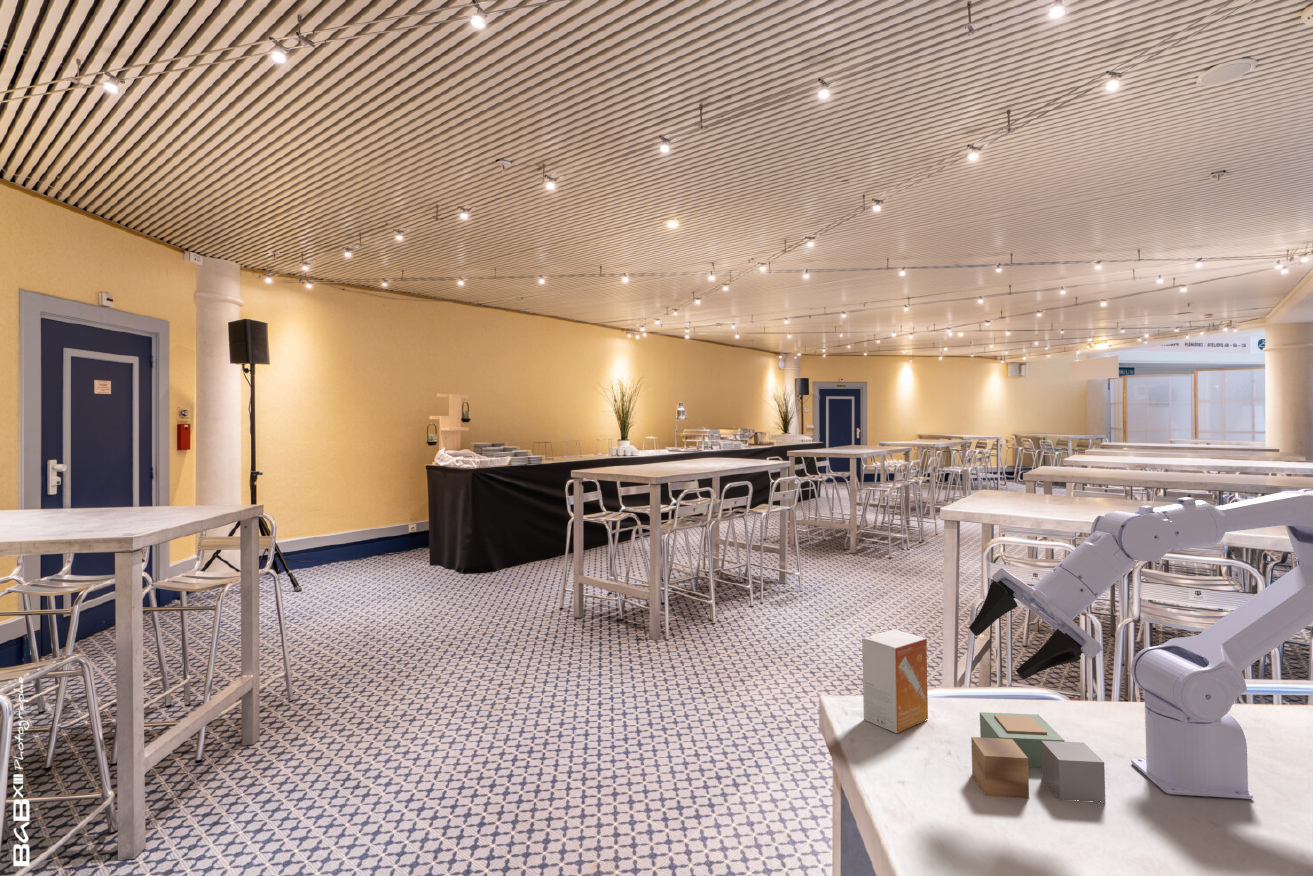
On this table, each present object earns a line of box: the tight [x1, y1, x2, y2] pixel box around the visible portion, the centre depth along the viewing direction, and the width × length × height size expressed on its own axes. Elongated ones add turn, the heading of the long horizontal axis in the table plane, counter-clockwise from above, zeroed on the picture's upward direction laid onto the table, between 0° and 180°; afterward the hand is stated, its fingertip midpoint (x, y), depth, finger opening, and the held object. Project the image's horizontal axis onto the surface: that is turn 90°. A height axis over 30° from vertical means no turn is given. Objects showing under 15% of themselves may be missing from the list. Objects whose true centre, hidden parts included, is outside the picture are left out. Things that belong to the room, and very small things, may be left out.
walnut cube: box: [970, 736, 1030, 799], centre depth 81 cm, size 5×5×5 cm
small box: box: [861, 628, 929, 734], centre depth 100 cm, size 8×6×13 cm
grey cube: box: [1041, 741, 1106, 803], centre depth 80 cm, size 5×5×5 cm
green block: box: [979, 711, 1066, 768], centre depth 89 cm, size 8×8×4 cm
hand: (995, 653), depth 83 cm, fingers open, 7 cm apart
